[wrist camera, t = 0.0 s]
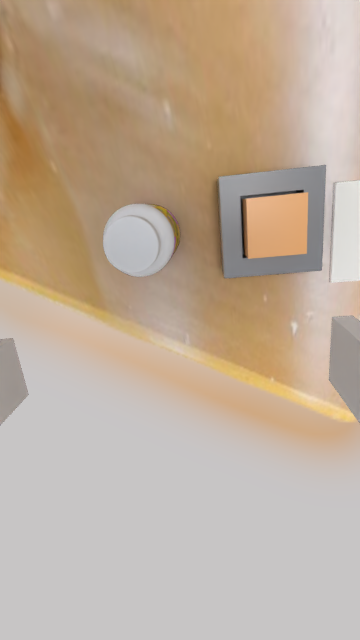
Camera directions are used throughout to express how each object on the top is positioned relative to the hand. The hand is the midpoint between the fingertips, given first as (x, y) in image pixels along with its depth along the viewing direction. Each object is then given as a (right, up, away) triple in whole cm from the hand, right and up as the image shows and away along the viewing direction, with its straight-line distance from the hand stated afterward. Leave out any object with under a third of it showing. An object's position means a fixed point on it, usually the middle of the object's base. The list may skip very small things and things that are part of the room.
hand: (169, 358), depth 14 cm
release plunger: (+10, +12, +21) cm, 26 cm away
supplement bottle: (-3, +12, +26) cm, 29 cm away
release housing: (+10, +13, +24) cm, 29 cm away
